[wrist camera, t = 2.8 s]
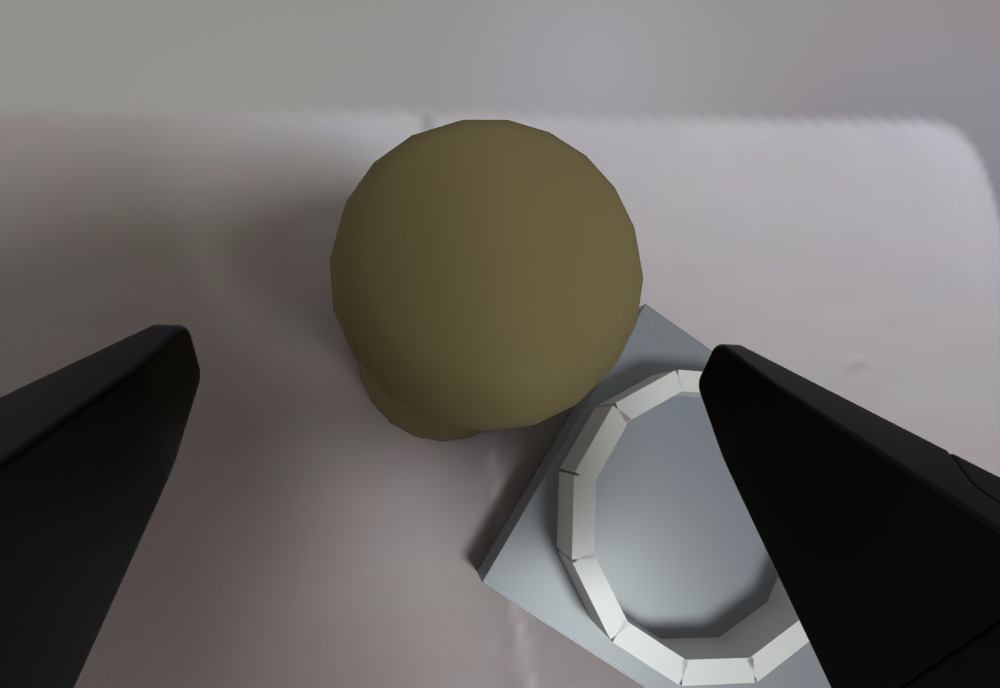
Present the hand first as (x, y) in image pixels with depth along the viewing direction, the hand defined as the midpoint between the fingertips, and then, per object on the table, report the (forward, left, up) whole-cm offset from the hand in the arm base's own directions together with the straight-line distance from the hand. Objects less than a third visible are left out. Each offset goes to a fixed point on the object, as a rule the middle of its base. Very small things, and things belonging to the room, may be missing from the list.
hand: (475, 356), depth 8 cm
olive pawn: (+1, +1, -9) cm, 9 cm away
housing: (+5, -10, -9) cm, 15 cm away
